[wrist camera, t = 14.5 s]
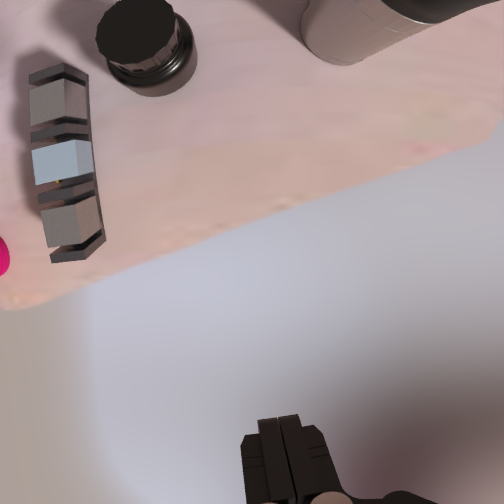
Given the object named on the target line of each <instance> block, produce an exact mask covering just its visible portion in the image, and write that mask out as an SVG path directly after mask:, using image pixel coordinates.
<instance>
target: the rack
mask: <svg viewBox="0 0 504 504" xmlns="http://www.w3.org/2000/svg"><path fill="white" fill-rule="evenodd" d="M29 84H32V85H36V86H39V87H37V88H34V89H31V90H29V111H30V126H35V127H50V128H46V129H43V130H39V131H36V132H33V133H31V143H33V142H57V144H58V143H62V142H67V141H71V140H81V141H89V142H91V148H92V157H93V166H94V172H90V173H87V174H83V175H79V176H75V177H70V178H65V179H61V180H56V183H60V182H61V184H62V187H59V188H56V189H53V190H50V191H47V192H44V193H41V194H38V200H39V204H41V203H46V202H51V201H56V200H61V199H64V201H63V202H60V203H58V204H55V205H53V206H51V207H48V208H46V209H44V210H42V211H41V217H42V222H43V227H44V232H45V236H46V241H47V245H48V248H50V247H57V246H61V247H59V248H58V249H56V250H55V251H54V252H52V253H51V254H50V258H51V262H52V263H59V262H68V261H76V260H85V259H87V258H88V257H89V256H90V255H91V254H92V253H93V252H94V251H95V250H96V249H97V248H99V247H100V246H101V245H102V244H103V243H104V242H105V241H106V236H105V230H104V225H103V219H102V213H101V207H100V201H99V194H98V187H97V180H96V172H95V163H94V154H93V145H92V134H91V121H90V105H89V79H88V75H87V74H85V73H83V72H81V71H79V70H77V69H75V68H73V67H71V66H69V65H67V64H65V63H62V64H59V65H56V66H53V67H50V68H47V69H44V70H41V71H39V72H36V73H33V74H31V75H29Z"/></svg>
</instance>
